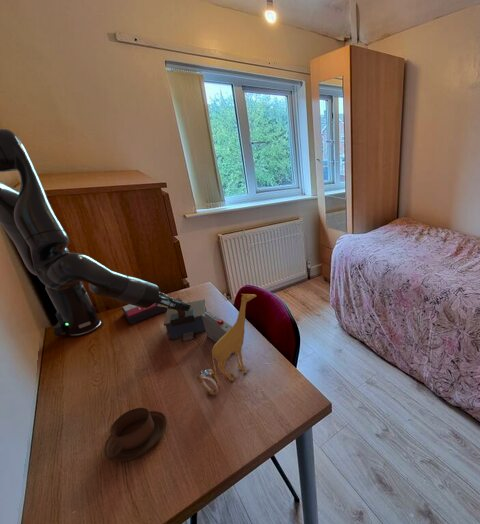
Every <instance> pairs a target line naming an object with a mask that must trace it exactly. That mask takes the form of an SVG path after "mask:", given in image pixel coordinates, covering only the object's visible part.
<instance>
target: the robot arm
mask: <svg viewBox="0 0 480 524" xmlns="http://www.w3.org/2000/svg"><path fill="white" fill-rule="evenodd" d="M15 171H17V172H18V174H19V175H18V176H19V178H20V188H19V189H17V188H16V187H14V186H11V185H9V184H7V183H5V182H4V181H2V180H0V225H1V227H2V228H3V229H4V231H5V232H6V234H7V235H8V237H9V238H10V239H11V241H12V242H13V244H14V246H15V248H16V249H17V251H18V253H19V255H20V257H21V259H22V261H23V263H24V265H25V267H26V268H27V270H28V271H29V272H30V273H31V274H32V275H34V276H37V278H38V279H39V281H40V282H41V283H42V284H43V285H44V286H45V287H44V288H45V291H46V293H47V295H48V296H49V299H50V301H51V303H52V305H53V306H54V308H55V310H56V313H55V316H56V319H57V321H58V322H57V323H56V324H55V325H54V327H53V334H54V335H55V336H56V337H59V338H62V336H63V334H65V336H66V337H79V336H80V337H81V336H84V335H88V334H89V333H92V332H94V331H96V330H97V329H98V328H99V327H101V325H102V321H101V320H100V318H99V316H98V313H97V311H96V309H95V307H94V305H93V303H92V301H91V298H90V296H89V293H88V292H87V290H86V287H85V285H84V283H85V282H86V283H88V290H89V291H90V292H91V293H92V294H94V295H97V296H101V297H104V298H108V299H112V300H115V301H117V302H120V303H123V304H127V305H129V304H131V305H134V306H138V307H142V308H148V307H150V306H152V305H153V304H156V306H159V307H166V308H169V309H174V310H184V311H189V309H190V307H191V306H190V305H188V304H186V303H187V302H183V301H182V302H181V301H180V302H179V301H176V298H175V297H173V296H170V295H168V294H166V293H164V292H162V291H160V287H159V286H158V285H157V284H156V283H152V282H150V281H146V280H144V279H141V278H138V277H135V276H131V275H126V274H124V273H121V272H118V271H115V270H111V269H109V268H108V267H107V266H105V265H104V264H102V263H101V262H99V261H97V260H96V259H94V258H93V257H91V256H89V255H87V254H83V253H79V252H70V250H69V248H68V247H67V246H68V245H69V244H70V238H69V236H68V234H67V232H66V231H65V229H64V227H63V225H62V224H61V222H60V221H59V219H58V217H57V216H56V213H55V211H54V210H53V207H52V205H51V204H50V200H49V198H48V196H47V193H46V191H45V188H44V186H43V183H42V180H41V179H40V176H39V174H38V172H37V170H36V167H35V165H34V162H33V160H32V158H31V157H30V154H29V152H28V150H27V148H26V146H25V145H24V143H23V142H22V140H21V139H20V137H19V136H18V135H17V134H15V132H14V131H12V130H10V129H7V128H0V173H4V172H6V173H7V172H15ZM83 282H84V283H83Z"/></svg>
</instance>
